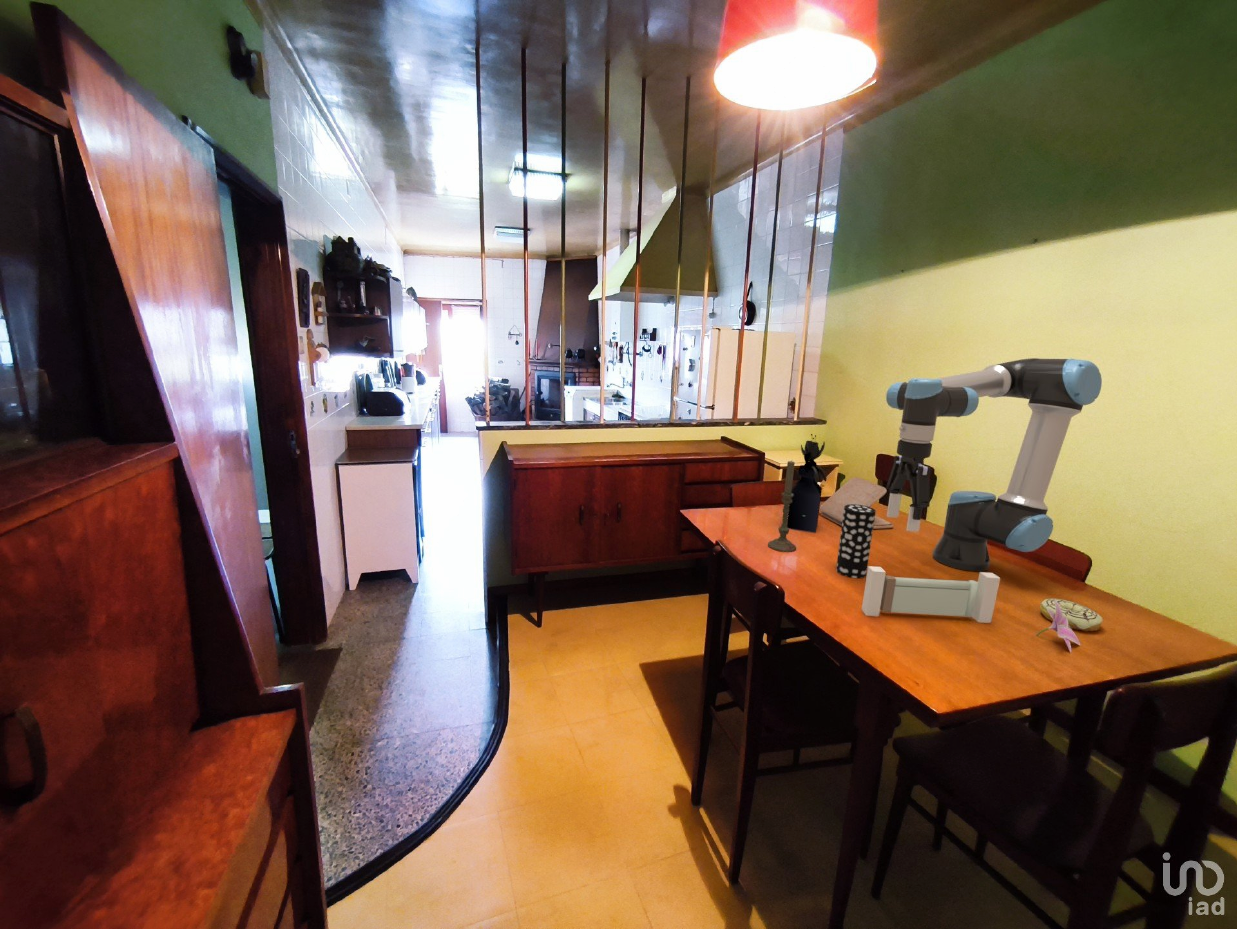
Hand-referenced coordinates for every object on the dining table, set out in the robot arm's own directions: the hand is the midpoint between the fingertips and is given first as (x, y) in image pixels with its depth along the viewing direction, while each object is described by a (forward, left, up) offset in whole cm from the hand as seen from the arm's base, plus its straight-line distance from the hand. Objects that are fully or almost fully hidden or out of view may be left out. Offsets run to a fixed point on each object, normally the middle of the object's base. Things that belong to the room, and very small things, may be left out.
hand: (902, 523), depth 134 cm
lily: (-29, +19, -21) cm, 41 cm away
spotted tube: (+5, -15, -21) cm, 26 cm away
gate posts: (-4, +10, -21) cm, 24 cm away
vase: (+8, -55, -21) cm, 59 cm away
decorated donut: (-40, +8, -21) cm, 46 cm away
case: (-15, -65, -21) cm, 70 cm away
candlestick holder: (+21, -33, -21) cm, 44 cm away
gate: (-4, +10, -20) cm, 23 cm away
